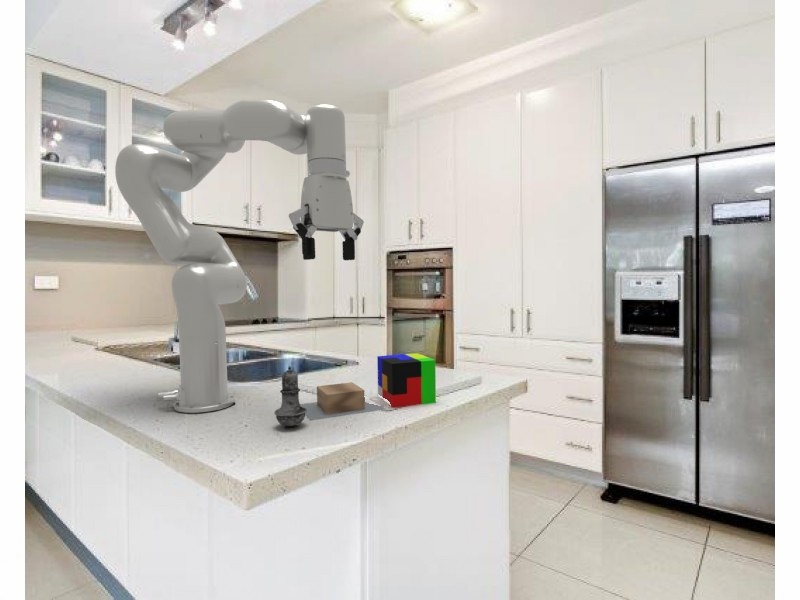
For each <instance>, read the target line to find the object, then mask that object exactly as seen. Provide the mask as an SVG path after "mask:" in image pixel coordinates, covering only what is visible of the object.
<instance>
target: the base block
mask: <svg viewBox="0 0 800 600" xmlns="http://www.w3.org/2000/svg"><path fill="white" fill-rule="evenodd" d="M364 396H365V389H363V388H362V387H360V386H359V385H357V384H355V383H354V382H353V381H352V382H342V383H335V384H334V383H333V384H326V385H317V386H316V402H317V405H318V406H319V407H320V408H321V409H322V410H323V411H324V412H325V413H326V414H327V415H328V414H335V413H342V412H349V411H356V410H363V409H365V397H364Z"/></svg>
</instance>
